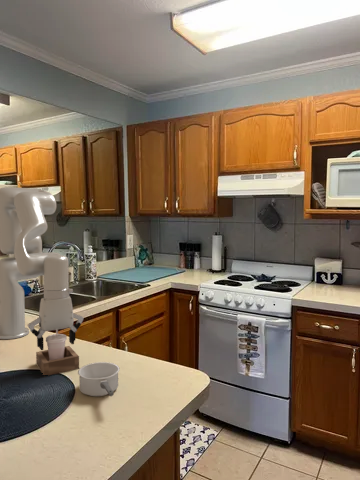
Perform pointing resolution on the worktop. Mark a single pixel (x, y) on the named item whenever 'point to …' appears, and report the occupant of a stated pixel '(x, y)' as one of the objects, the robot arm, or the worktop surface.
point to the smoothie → (56, 345)
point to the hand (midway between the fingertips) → (56, 345)
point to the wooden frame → (57, 362)
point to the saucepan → (99, 378)
